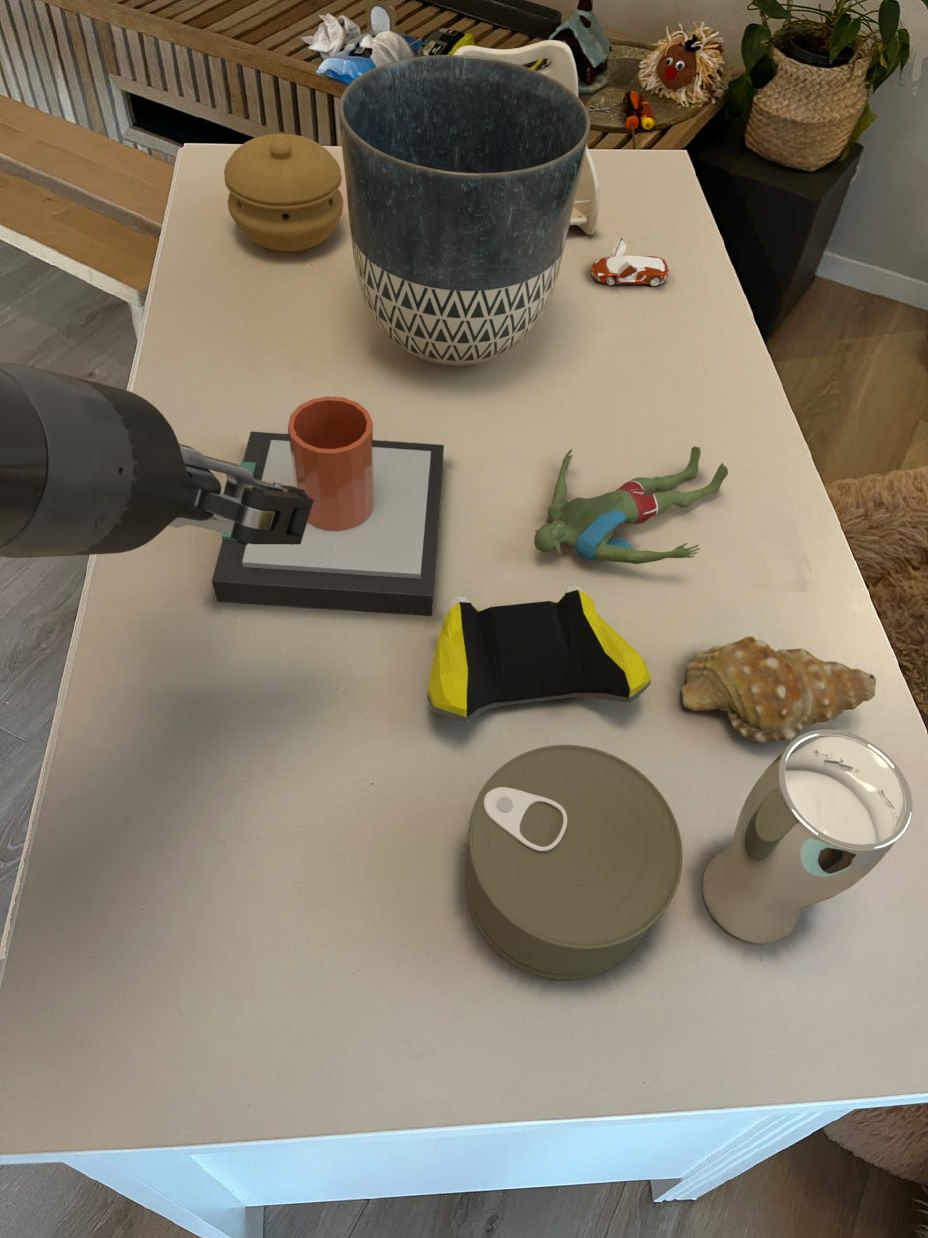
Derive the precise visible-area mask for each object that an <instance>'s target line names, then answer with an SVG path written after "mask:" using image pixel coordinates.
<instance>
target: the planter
mask: <svg viewBox="0 0 928 1238" xmlns="http://www.w3.org/2000/svg"><path fill="white" fill-rule="evenodd" d="M538 71H539V70H536V69H533V68H529V67H526V66H524V65H517V64H514V63H510V62H506V61H501V60H496V59H490V58H484V57H475V56H463V55H453V54H436V55H424V56H415V57H408V58H404V59H403V58H402V59H399V60H394V61H391V62H388V63H385V64H381V65H379V66H377V67H374V68H372V69H369V70H368V71H366V72H364V73H362V74H361V75H359V76H358V77H356V78H355V79H354V80H353V81H352V82H351V83H349V85H347V87H346V88H345V90H344V91H343V93H342V94H341V97H340V99H339V105H338V116H339V128H340V141H341V143H340V144H341V152H342V161H343V168H344V178H345V189H346V200H347V201H346V202H347V212H348V220H349V229H350V238H351V248H352V258H353V263H354V271H355V274H356V278H357V282H358V286H359V288H360V292H361V295H362V297H363V299H364V303H365V305H366V307H367V310H368V311H369V313H370V315H371V317H372V318H373V320H374V322H375V323H376V324H377V325H378V327H379V328H380V330H382V332H383V333H384V334H385V335H386V336H387V337H388V338H389V339H390V340H391V341H392V342H394V343H395V344H396V345H397V346H398V347H400V348H401V349H402V350H404V351H406V352H408V353H409V354H411V355H413V356H415V357H417V358H419V359H421V360H423V361H424V360H425V361H427V362H430V363H433V364H437V365H444V366H453V367H454V366H455V367H456V366H459V367H460V366H470V365H476V364H479V363H483V362H486V361H489V360H492V359H495V358H497V357H499V356H500V355H502V354H504V353H506V352H508V351H509V350H511V349H513V348H514V347H515V346H516V345H517V344H519V343H520V342H521V341H522V340H524V338H526V337H527V335H528V334H530V332H531V331H532V330H533V328H534V327H535V326H536V324H537V323H538V321H539V320H540V319H541V318H542V317H541V316H542V315H543V313H544V311H545V309H546V307H547V305H548V303H549V301H550V299H551V296H552V294H553V291H554V289H555V285H556V282H557V279H558V275H559V272H560V267H561V263H562V259H563V255H564V249H565V245H566V241H567V237H568V233H569V229H570V226H571V225H570V220H571V215H572V211H573V206H574V201H575V196H576V192H577V188H578V183H579V179H580V175H581V171H582V167H583V162H584V157H585V153H586V148H587V147H588V143H589V138H590V132H591V117H590V114H589V111H588V109H587V107H586V106H585V104H584V102H583V101H582V100H581V99H580V98H579V96H578V97H577V96H576V95H575V94H574V93H573V92H572V91H571V90H570V89H568V88H567V87H566V86H564V85H563V84H561V83H560V82H558V81H556V80H555V79H553V78H551V77H549V76H547V75H545V74H542V73H540V72H538Z"/></svg>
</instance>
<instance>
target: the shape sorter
mask: <svg viewBox="0 0 928 1238" xmlns="http://www.w3.org/2000/svg"><path fill="white" fill-rule="evenodd" d="M452 55H463V56H475V57H484V58H490V59H496V60H501V61H506V62H510V63H514V64H517V65H521V66H524V65H526V64H530V63H532V62H536V61H539V60H542V59H547V60H548V61H550V63H549V65H548V66H546V67H544V68H541V69H539V70H537V71H538V72H540V73H542V74H545V75H547V76H549V77H551V78H553V79H555V80H556V81H558V82H560V83H561V84H563V85H564V86H566V87H567V88H568V89H570V90H571V91H572V92H573V93H574V94H575V95H576V96H577V97H578V98H579V79H578V70H577V65H576V60H575V57H574V55H573V51H572V49H571V47H570V46H569V45H568V44H567V43H565V42H563V41H561V40H554V39H546V40H541V41H538V42H534V43H532V44H528V45H524V46H521V47H517V48H516V47H515V48H507V49H503V48H489V47H482V46H477V45H469V44H467V45H463V46H460V47H459V48H457V49H456V51H454V53H453V54H452ZM599 208H600V185H599V178H598V174H597V169H596V167H595V163H594V160H593V158H592V155H591V152H590V150H589V147H588V146H587V148H586V153H585V157H584V162H583V167H582V171H581V175H580V179H579V183H578V188H577V192H576V196H575V201H574V206H573V211H572V215H571V220H570V225H569V226H577V227H578V228H580V229H581V230H582V231H583V232H584V234H587V235H594V233H595V231H596V230H597V229H596V228H597V224H598V218H599V211H600V210H599Z"/></svg>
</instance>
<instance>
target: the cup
mask: <svg viewBox="0 0 928 1238" xmlns="http://www.w3.org/2000/svg"><path fill="white" fill-rule="evenodd" d="M372 419H373V418H372V417H371V414H370V412H369V411H368V410H367V409H366V408H365V407H364V406H362V405H361V404H360V403H359V402H357V401H354V400H352V399H349V398H346V397H342V396H327V395H326V396H322V397H317V398H311V399H309V400H307V401H306V402H304V403H302V404H299V405H298V406H297V407H296V408H295V409H294V410H293V411H292V413H291V414H290V416H289V419H288V422H287V423H288V424H287V432H288V433H287V434H289V441H290V449H291V457H292V465H293V473H294V481H295V487H297V488H299V489H302V490H305V493H306V494H307V495H308V497H309V498H311V499H313V500H314V502H313V505H312V508H311V512H310V515H309V518H308V523H310V524H311V525H313V526H315V527H317V528H320V529H323V530H328V531H342V530H347V529H351V528H354V527H356V526H358V525H360V524H361V523H363V522H364V521H365V520H366V519H367V518H368V517H369V516H370V514H371V513H372V510H373V507H374V458H373V440H374V426H373V425H374V424H373V423H374V422H373V420H372Z"/></svg>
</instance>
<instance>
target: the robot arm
mask: <svg viewBox="0 0 928 1238" xmlns="http://www.w3.org/2000/svg"><path fill="white" fill-rule="evenodd" d="M212 471H213V472H216V473H220V474H225V476H226V482H225V486H224V488H223V492H222V484H221V482H220V480H219V479H218V478H217V477H216V475H215V474H214V473H213V472H212ZM313 502H314V500H313V499H311V498H309V497H308V495H307V494H306V493H305V490H302V489H299V488H297V487H294V486H286V485H282V484H280V483H277V482H273V484H272V483H268V482H265V481H261V480H257V479H254V478H253V474H252V472H251V471H250V470H248V469H246V468H244V467H242V466H240V464H237V463H234V462H230V461H226V460H224V459H223V460H222V459H219V458H215V457H211V456H207V455H204V454H203V453H202V452H201V451H200V450H197V449H196V448H194V447H192V446H190V445H186V444H183V443H180V442H179V441H178V438H177V436H176V433H175V432H174V429H173V428H172V426H171V424H170V423H169V421H168V420H167V418H166V417H165V416H164V414H163V413H162V412H161V411H160V410H159V409H158V408H157V407H156V406H154V404H153V403H151V402H150V401H148V400H147V399H146V398H144V397H142V396H140V395H138V394H137V393H135V392H133V391H130V390H126V389H123V388H119V387H115V386H111V385H107V384H104V383H100V382H95V381H91V380H87V379H84V378H80V377H76V376H72V375H67V374H62V373H59V372H56V371H55V372H54V371H51V370H46V369H42V368H38V367H35V366H31V365H27V364H21V363H12V362H2V361H0V558H9V559H27V558H29V559H30V558H50V557H70V556H71V557H72V556H73V557H74V556H92V555H111V554H122V553H126V552H127V553H128V552H130V551H134V550H137V549H138V548H141V547H143V546H144V545H147V544H148V543H149V542H151V541H152V540H154V539H155V538H156V537H158V535H160V534H162V532H163V531H164V530H165V529H166V528H167V527H173V528H182V527H185V526H192V527H196V528H202V529H206V530H211V531H216V532H221V533H223V532H225V533H231V538H233V539H235V540H237V542H238V543H240V544H244V545H248V544H290V545H293V544H301V541H302V538H303V535H304V532H305V528H306V525H307V522H308V518H309V515H310V512H311V508H312V505H313Z"/></svg>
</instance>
